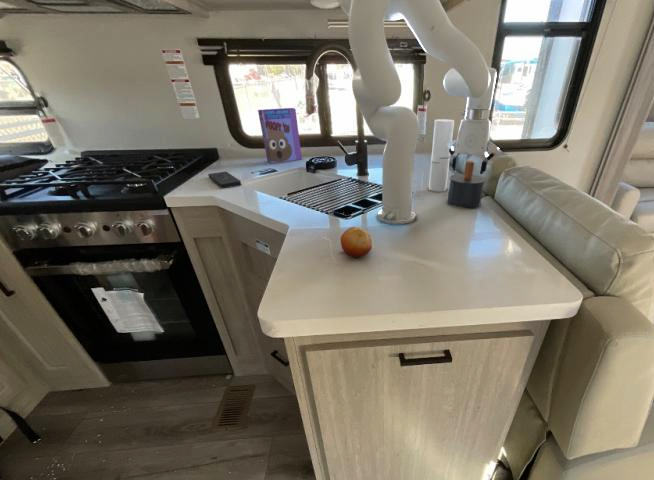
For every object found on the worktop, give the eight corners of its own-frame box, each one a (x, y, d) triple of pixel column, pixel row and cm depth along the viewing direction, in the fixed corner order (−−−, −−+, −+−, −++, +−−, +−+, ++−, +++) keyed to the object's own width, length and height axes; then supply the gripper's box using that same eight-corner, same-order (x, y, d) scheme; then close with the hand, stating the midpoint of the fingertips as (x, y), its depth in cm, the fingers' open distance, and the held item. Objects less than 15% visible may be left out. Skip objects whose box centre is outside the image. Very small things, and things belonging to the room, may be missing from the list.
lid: (480, 188, 107) (483, 167, 104) (444, 183, 112) (446, 163, 109) (489, 179, 117) (493, 160, 113) (455, 175, 121) (458, 156, 118)
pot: (474, 211, 113) (479, 186, 108) (443, 205, 117) (445, 181, 112) (483, 201, 121) (487, 178, 116) (453, 196, 125) (456, 174, 120)
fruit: (350, 238, 90) (360, 218, 84) (369, 258, 89) (380, 240, 82) (329, 248, 85) (338, 227, 78) (348, 270, 83) (359, 250, 77)
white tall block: (447, 191, 130) (455, 121, 116) (429, 191, 131) (435, 121, 116) (444, 186, 136) (452, 119, 122) (427, 186, 136) (433, 119, 122)
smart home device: (226, 170, 147) (241, 180, 134) (227, 174, 148) (242, 184, 135) (207, 173, 143) (220, 184, 130) (208, 177, 144) (221, 188, 131)
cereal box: (271, 164, 166) (261, 110, 152) (267, 162, 169) (257, 109, 155) (301, 159, 176) (295, 108, 162) (297, 157, 179) (290, 107, 165)
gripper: (447, 114, 103) (441, 170, 113) (502, 118, 96) (490, 177, 106) (454, 112, 109) (448, 166, 118) (507, 116, 102) (495, 172, 112)
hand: (468, 171), depth 112 cm, fingers open, 9 cm apart
